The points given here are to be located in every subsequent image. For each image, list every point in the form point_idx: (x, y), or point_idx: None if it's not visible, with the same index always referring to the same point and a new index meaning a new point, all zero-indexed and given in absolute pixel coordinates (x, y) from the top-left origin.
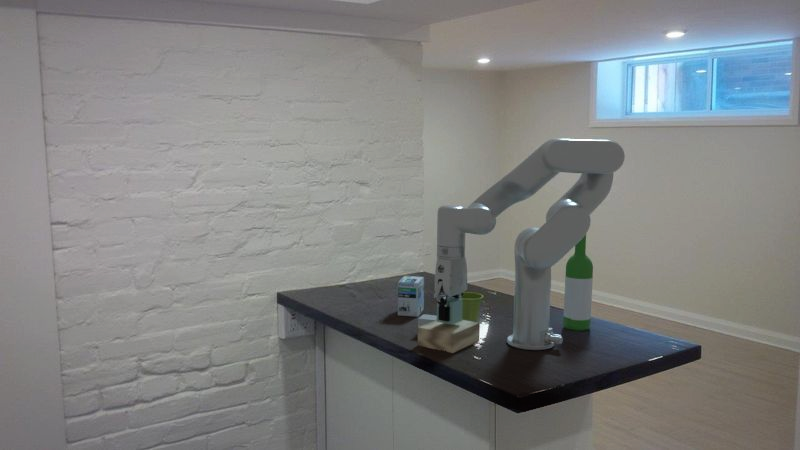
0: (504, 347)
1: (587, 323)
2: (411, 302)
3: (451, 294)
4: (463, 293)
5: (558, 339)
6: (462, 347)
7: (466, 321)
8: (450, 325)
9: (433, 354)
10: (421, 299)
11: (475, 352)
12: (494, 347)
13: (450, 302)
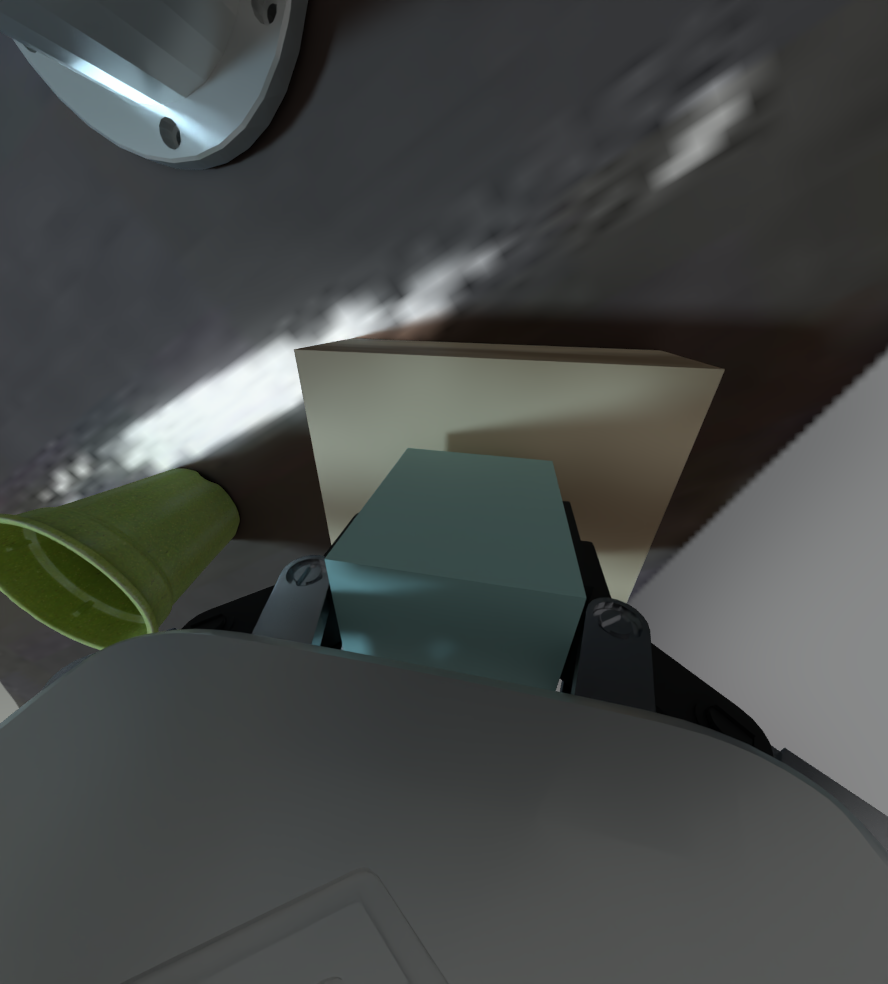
0: (357, 85)
1: None
2: None
3: (773, 780)
4: (57, 621)
5: None
6: (542, 346)
7: (333, 445)
8: None
9: (725, 433)
10: None
11: (579, 222)
12: (403, 163)
13: (576, 622)
